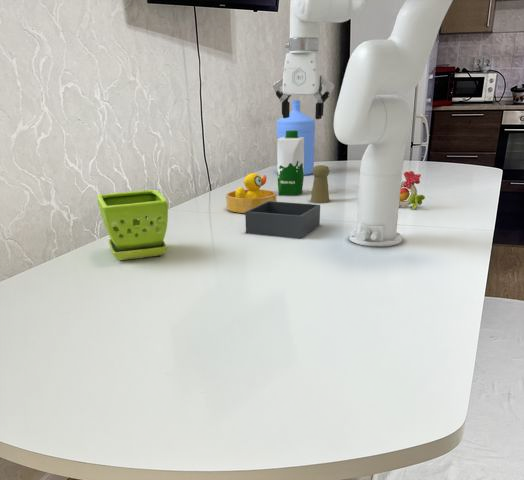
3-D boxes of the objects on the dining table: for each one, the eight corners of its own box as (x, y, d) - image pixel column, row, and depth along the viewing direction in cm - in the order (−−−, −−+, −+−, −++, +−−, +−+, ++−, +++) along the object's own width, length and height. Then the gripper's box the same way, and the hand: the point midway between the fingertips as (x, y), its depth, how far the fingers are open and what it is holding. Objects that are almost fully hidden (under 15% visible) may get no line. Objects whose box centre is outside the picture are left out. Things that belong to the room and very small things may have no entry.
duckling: (260, 203, 167) (260, 170, 162) (271, 205, 163) (271, 172, 158) (232, 208, 160) (230, 174, 156) (242, 211, 156) (241, 176, 152)
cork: (307, 202, 169) (308, 166, 164) (315, 198, 174) (315, 163, 169) (325, 203, 166) (326, 167, 161) (332, 200, 171) (333, 164, 166)
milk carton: (304, 191, 185) (306, 130, 176) (300, 196, 178) (301, 132, 169) (280, 190, 187) (280, 130, 178) (275, 195, 180) (274, 132, 170)
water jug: (320, 171, 225) (322, 99, 212) (302, 177, 213) (304, 101, 201) (288, 169, 233) (288, 99, 220) (270, 174, 221) (269, 101, 208)
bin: (300, 238, 130) (301, 216, 127) (245, 233, 135) (245, 211, 133) (319, 225, 141) (320, 204, 139) (268, 221, 147) (267, 201, 144)
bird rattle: (396, 216, 158) (425, 206, 153) (384, 180, 155) (414, 168, 150) (400, 212, 163) (429, 202, 158) (389, 177, 160) (418, 166, 155)
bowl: (263, 215, 153) (263, 200, 150) (218, 212, 158) (217, 196, 156) (283, 205, 165) (283, 190, 163) (240, 202, 171) (240, 188, 169)
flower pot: (104, 248, 125) (95, 193, 119) (162, 242, 129) (157, 189, 123) (111, 265, 113) (101, 205, 107) (174, 257, 117) (169, 199, 112)
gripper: (267, 47, 137) (268, 118, 145) (330, 45, 130) (327, 120, 138) (279, 48, 143) (279, 116, 151) (340, 46, 136) (336, 118, 144)
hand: (302, 118), depth 145 cm, fingers open, 9 cm apart
